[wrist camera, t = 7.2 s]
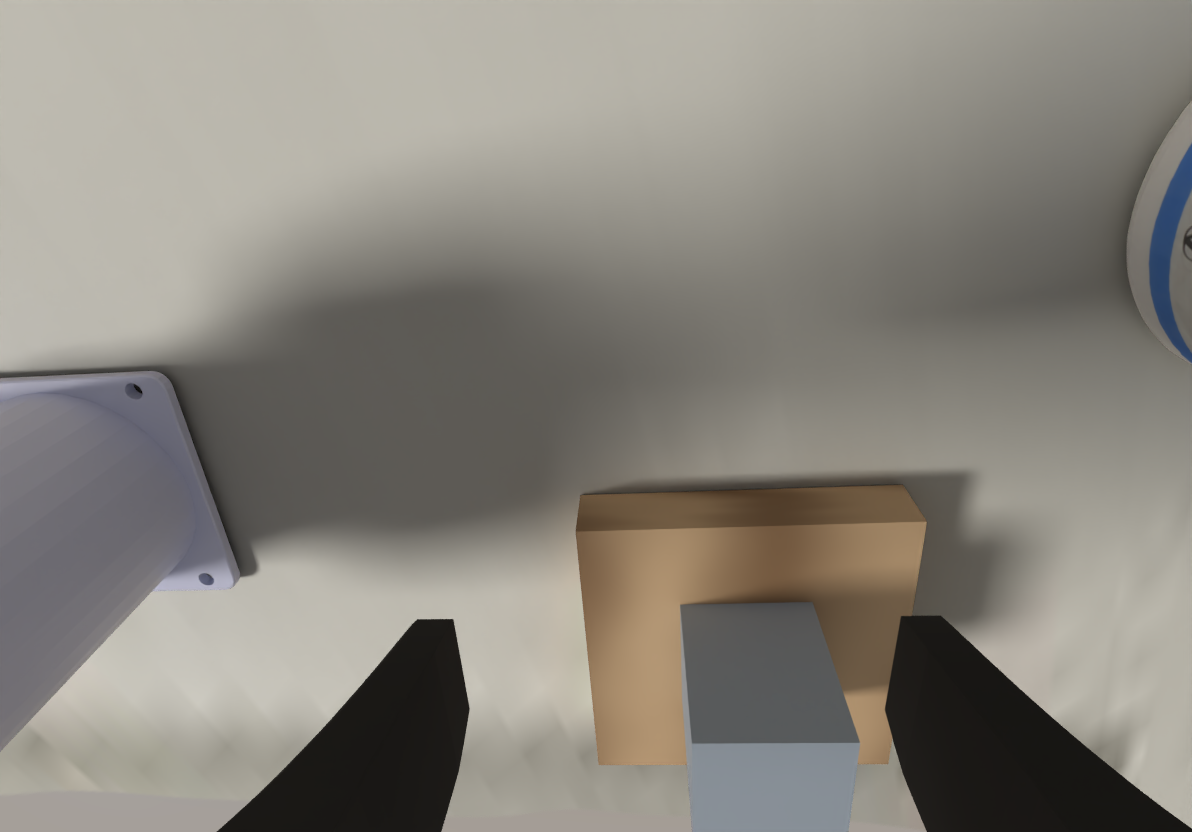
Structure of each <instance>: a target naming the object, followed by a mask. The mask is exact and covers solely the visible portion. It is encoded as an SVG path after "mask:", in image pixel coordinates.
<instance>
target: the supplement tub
mask: <svg viewBox="0 0 1192 832" xmlns="http://www.w3.org/2000/svg"><path fill="white" fill-rule="evenodd" d="M1127 271H1128V279H1129V283H1130V287H1131V291H1132V294H1133V297H1134V300H1135V303H1136V305H1137V308H1138V310H1139V312H1140V314H1141V316H1142V318H1143V320H1144V321H1145V323H1146V325H1147V326H1148V328H1149V329H1150V331H1151V332H1152V333H1153V334H1154V335H1155V336H1156V337H1157V339H1158V340H1159V341H1160V342H1161V343H1162V344H1163V345H1164V346H1165V347H1166V348H1167V349H1168V350H1170V351H1171V352H1172V353H1174V354H1175V355H1177V356H1178V357H1180V358H1181V359H1183V360H1185V361H1186V362H1188V363H1190V364H1191V365H1192V100H1191V102H1190V103H1189V104H1188V105H1187V107H1186V108H1185V109H1184V110H1183V112H1182V113H1181V115H1180V116H1179V118H1178V119H1177V121H1176V122H1175V124H1174V125H1173V126H1172V128H1171V129H1170V131H1169V132H1168V134H1167V136H1166V137H1165V139H1164V141H1163V142H1162V144H1161V146H1160V148H1159V149H1158V151H1157V153H1156V154H1155V156H1154V158H1153V160H1152V163H1151V165H1150V167H1149V169H1148V171H1147V173H1146V175H1145V178H1144V180H1143V183H1142V185H1141V188H1140V190H1139V193H1138V195H1137V199H1136V202H1135V205H1134V208H1133V212H1132V216H1131V221H1130V225H1129V230H1128V235H1127Z"/></svg>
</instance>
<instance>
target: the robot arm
mask: <svg viewBox="0 0 1192 832" xmlns="http://www.w3.org/2000/svg"><path fill="white" fill-rule="evenodd" d="M133 384H136V385H137V386H139V387H140V389H141V390H142V394H141V393H139V392H138V391H136V389H135V388H134V385H133ZM206 573H207V574H209V575H211V576H212V577H213V578H212V577H210V576H208V575H207V574H206ZM239 578H240V572H239V569H238V566H237V563H236V561H235V558H234V555H233V552H232V550H231V547H230V544H229V541H228V538H227V536H226V533H225V530H224V527H223V525H222V522H221V519H220V516H219V513H218V511H217V508H216V505H215V502H214V500H213V497H212V494H211V491H210V488H209V486H208V483H207V480H206V477H205V474H204V472H203V469H202V466H201V463H200V461H199V458H198V455H197V452H196V449H195V447H194V444H193V441H192V438H191V436H190V433H189V430H188V427H187V424H186V422H185V419H184V416H183V413H182V411H181V408H180V405H179V402H178V399H177V397H176V394H175V391H174V388H173V386H172V384H171V382H170V380H169V379H168V378H167V377H166V376H165V375H163V374H161V373H159V372H156V371H138V372H118V373H97V374H76V375H56V376H35V377H14V378H0V751H1V750H2V749H3V748H4V747H5V746H6V745H7V744H8V743H9V742H10V741H11V740H12V739H13V738H14V737H15V736H16V735H17V733H18V732H19V731H20V730H21V729H22V728H23V727H24V726H25V725H26V724H27V723H28V722H29V721H30V720H31V719H32V718H33V717H34V715H35V714H36V713H37V712H38V711H39V710H40V709H41V708H42V707H43V706H44V705H45V704H46V703H47V702H48V701H49V700H50V699H51V697H52V696H53V695H54V694H55V693H56V692H57V691H58V690H59V689H60V688H61V687H62V686H63V685H64V684H65V683H66V682H67V681H68V680H69V678H70V677H71V676H72V675H73V674H74V673H75V672H76V671H77V670H78V669H79V668H80V667H81V666H82V665H83V664H84V663H85V662H86V660H87V659H88V658H89V657H90V656H91V655H92V654H93V653H94V652H95V651H96V650H97V649H98V648H99V647H100V646H101V645H102V644H103V643H104V641H105V640H106V639H107V638H108V637H109V636H110V635H111V634H112V633H113V632H114V631H115V630H116V629H117V628H118V627H119V626H120V625H121V623H122V622H123V621H124V620H125V619H126V618H127V617H128V616H129V615H130V614H131V613H132V612H133V611H134V610H135V609H136V608H137V607H138V605H139V604H140V603H141V602H142V601H143V600H144V599H145V598H146V597H147V596H148V595H149V594H150V593H151V592H152V591H186V590H226V589H231V588H232V587H233V586H234V585H235V584H236V583H237V582H238V580H239ZM885 713H886V716H887V720H888V723H889V727H890V731H891V734H892V738H893V742H894V745H895V748H896V752H897V755H898V758H899V762H900V765H901V768H902V772H903V775H904V777H905V780H906V782H907V785H908V787H909V790H910V792H911V795H912V797H913V800H914V802H915V804H916V807H917V809H918V812H919V814H920V816H921V819H922V821H923V824H924V826H925V828H926V831H927V832H1192V829H1191V828H1190V827H1189V826H1187V825H1186V824H1185V823H1183V822H1182V821H1180V820H1179V819H1178V818H1176V817H1175V816H1173V815H1172V814H1171V813H1169V812H1168V811H1167V810H1165V809H1164V808H1163V807H1161V806H1160V805H1159V804H1157V803H1156V802H1155V801H1153V800H1152V799H1151V798H1149V797H1148V796H1147V795H1146V794H1144V793H1143V792H1142V791H1140V790H1139V789H1138V788H1136V787H1135V786H1134V785H1133V784H1131V783H1130V782H1129V781H1128V780H1126V779H1125V778H1124V777H1123V776H1122V775H1120V774H1119V773H1118V772H1117V771H1115V770H1114V769H1113V768H1112V767H1110V766H1109V765H1108V764H1107V763H1105V762H1104V761H1103V760H1102V759H1100V758H1099V757H1098V756H1097V755H1096V754H1094V753H1093V752H1092V751H1091V750H1089V749H1088V748H1087V747H1086V746H1085V745H1083V744H1082V743H1081V742H1080V741H1079V740H1078V739H1076V738H1075V737H1074V736H1073V735H1072V734H1070V733H1069V732H1068V731H1067V730H1066V729H1065V728H1063V727H1062V726H1061V725H1060V724H1059V723H1058V722H1056V721H1055V720H1054V719H1053V718H1052V717H1051V716H1050V715H1048V714H1047V713H1046V712H1045V711H1044V710H1043V709H1042V708H1041V707H1039V706H1038V705H1037V704H1036V703H1035V702H1034V701H1033V700H1032V699H1030V698H1029V697H1028V696H1027V695H1026V694H1025V693H1024V692H1023V691H1022V690H1020V689H1019V688H1018V687H1017V686H1016V685H1015V684H1014V683H1013V682H1012V681H1011V680H1010V679H1008V678H1007V677H1006V676H1005V675H1004V674H1003V673H1002V672H1001V671H1000V670H999V669H998V668H997V667H995V666H994V665H993V664H992V663H991V662H990V661H989V660H988V659H987V658H986V657H985V656H984V655H983V654H982V653H980V652H979V651H978V650H977V649H976V648H975V647H974V646H973V645H972V644H971V643H970V642H969V641H968V640H967V639H966V638H964V637H963V636H962V635H961V634H960V633H959V632H958V631H957V630H956V629H955V628H954V627H953V626H952V625H950V624H949V623H948V622H947V621H946V620H945V619H944V618H943V617H942V616H901V619H900V624H899V630H898V636H897V642H896V647H895V653H894V659H893V665H892V670H891V676H890V682H889V688H888V693H887V699H886V705H885ZM468 715H469V703H468V698H467V692H466V687H465V681H464V676H463V670H462V665H461V659H460V654H459V648H458V643H457V637H456V632H455V626H454V621H453V619H417V620H416V621H415V622H414V623H413V624H412V625H411V626H410V628H409V629H408V630H407V631H406V632H405V634H404V635H403V636H402V637H401V638H400V640H399V641H398V642H397V643H396V644H395V646H394V647H393V648H392V649H391V650H390V652H389V653H388V654H387V655H386V656H385V658H384V659H383V660H382V661H381V662H380V664H379V665H378V666H377V667H376V668H375V670H374V671H373V672H372V673H371V674H370V676H369V677H368V678H367V679H366V680H365V681H364V683H363V684H362V685H361V686H360V687H359V688H358V690H357V691H356V692H355V693H354V694H353V695H352V696H351V697H350V699H349V700H348V701H347V702H346V703H345V704H344V705H343V706H342V708H341V709H340V710H339V711H338V712H337V713H336V714H335V716H334V717H333V718H332V719H331V720H330V721H329V722H328V723H327V724H326V726H325V727H324V728H323V729H322V730H321V731H320V732H319V733H318V734H317V735H316V736H315V737H314V738H313V739H312V740H311V741H310V742H309V743H308V744H307V746H306V747H305V748H304V749H303V750H302V751H301V752H300V753H299V754H298V755H297V756H296V757H295V758H294V759H293V760H292V761H291V762H290V763H289V764H288V765H287V766H286V767H285V768H284V769H283V770H282V771H281V772H280V773H279V774H278V775H277V776H276V777H275V778H274V779H273V780H272V781H271V782H270V783H269V784H268V785H267V786H266V787H265V788H264V789H263V790H262V791H261V792H260V793H259V794H258V795H257V796H256V797H255V798H253V799H252V800H251V801H250V802H249V803H248V804H247V805H246V806H245V807H244V808H243V809H242V810H240V811H239V812H238V813H237V814H236V815H235V816H234V817H233V818H232V819H231V820H230V821H228V822H227V823H226V824H225V825H224V826H223V827H222V828H221V829H219V830H218V831H217V832H441V831H442V827H443V824H444V820H445V817H446V814H447V810H448V807H449V803H450V800H451V796H452V793H453V789H454V786H455V782H456V779H457V775H458V772H459V767H460V761H461V756H462V750H463V745H464V739H465V733H466V727H467V721H468Z"/></svg>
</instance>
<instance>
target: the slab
mask: <svg viewBox="0 0 1192 832" xmlns="http://www.w3.org/2000/svg"><path fill="white" fill-rule="evenodd" d="M926 525H927V521H926V519H925V518H924V516H923V515H922V513H921V512H920V510H919V509H918V507H917V506H916V504H915V503H914V501H913V500H912V498H911V497H910V495H909V494H908V492H907V491H906V489H905V488H904V486H903V485H879V486H848V487H817V488H786V489H756V490H725V491H694V492H663V493H633V494H602V495H580V503H579V510H578V518H577V525H576V540H577V550H578V560H579V570H580V581H581V591H582V601H583V611H584V621H585V631H586V641H587V651H588V661H589V671H590V681H591V691H592V701H593V711H594V721H595V732H596V742H597V752H598V762H599V765H687V758H686V745H685V732H684V718H683V705H682V674H681V628H680V605H686V604H737V603H788V602H813V605H814V608H815V611H816V614H817V617H818V620H819V623H820V626H821V629H822V632H823V634H824V637H825V640H826V643H827V646H828V649H829V652H830V655H831V658H832V661H833V664H834V667H835V670H836V673H837V676H838V679H839V682H840V685H841V688H842V690H843V693H844V696H845V699H846V702H847V705H848V708H849V711H850V714H851V717H852V720H853V723H854V726H855V729H856V732H857V735H858V738H859V741H860V749H859V756H858V764H888V761H889V755H890V749H891V743H892V734H891V731H890V727H889V723H888V720H887V716H886V713H885V705H886V699H887V693H888V688H889V682H890V676H891V670H892V665H893V659H894V653H895V647H896V642H897V636H898V630H899V624H900V619H901V616H912V612H913V606H914V600H915V593H916V587H917V581H918V575H919V568H920V562H921V556H922V550H923V544H924V537H925V531H926Z"/></svg>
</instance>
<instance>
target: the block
mask: <svg viewBox="0 0 1192 832" xmlns="http://www.w3.org/2000/svg"><path fill="white" fill-rule="evenodd" d="M680 628H681V674H682V705H683V718H684V732H685V745H686V758H687V771H688V785H689V798H690V811H691V824H692V832H848V830H849V823H850V816H851V808H852V801H853V793H854V786H855V778H856V771H857V764H858V756H859V749H860V741H859V738H858V735H857V732H856V729H855V726H854V723H853V720H852V717H851V714H850V711H849V708H848V705H847V702H846V699H845V696H844V693H843V690H842V688H841V685H840V682H839V679H838V676H837V673H836V670H835V667H834V664H833V661H832V658H831V655H830V652H829V649H828V646H827V643H826V640H825V637H824V634H823V632H822V629H821V626H820V623H819V620H818V617H817V614H816V611H815V608H814V605H813V602H788V603H737V604H686V605H680Z"/></svg>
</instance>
